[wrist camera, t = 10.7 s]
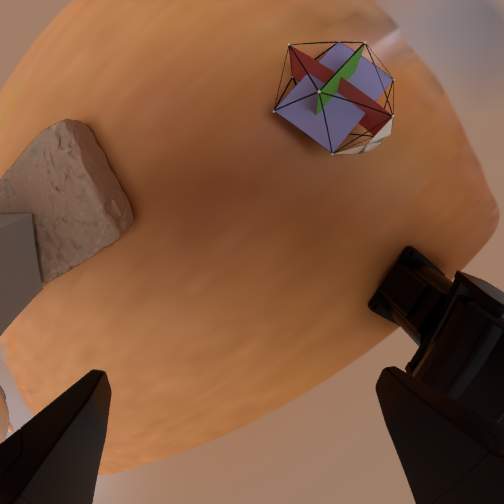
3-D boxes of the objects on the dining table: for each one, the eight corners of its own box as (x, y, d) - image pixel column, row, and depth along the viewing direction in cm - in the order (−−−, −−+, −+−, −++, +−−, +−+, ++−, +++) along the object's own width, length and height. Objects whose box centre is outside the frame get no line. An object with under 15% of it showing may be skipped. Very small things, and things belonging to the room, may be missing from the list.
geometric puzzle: (226, 78, 14) (331, 118, 10) (297, 10, 13) (411, 28, 8) (285, 139, 20) (371, 194, 16) (338, 79, 19) (428, 117, 14)
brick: (16, 304, 20) (-9, 331, 15) (-26, 231, 17) (-57, 248, 12) (144, 216, 19) (126, 236, 15) (92, 117, 16) (61, 110, 12)
